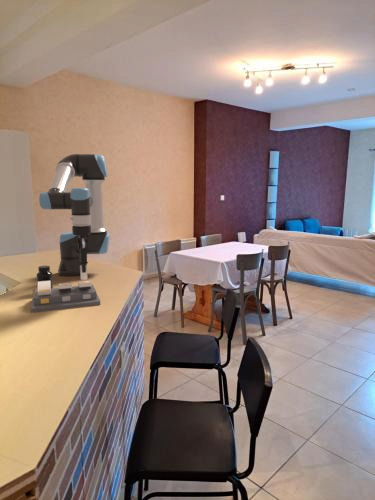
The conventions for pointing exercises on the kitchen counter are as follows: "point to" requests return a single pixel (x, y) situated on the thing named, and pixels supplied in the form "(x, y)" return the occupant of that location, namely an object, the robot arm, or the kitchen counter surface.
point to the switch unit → (65, 299)
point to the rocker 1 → (44, 288)
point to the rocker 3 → (85, 284)
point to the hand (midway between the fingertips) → (84, 279)
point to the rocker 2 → (65, 285)
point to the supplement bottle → (44, 275)
